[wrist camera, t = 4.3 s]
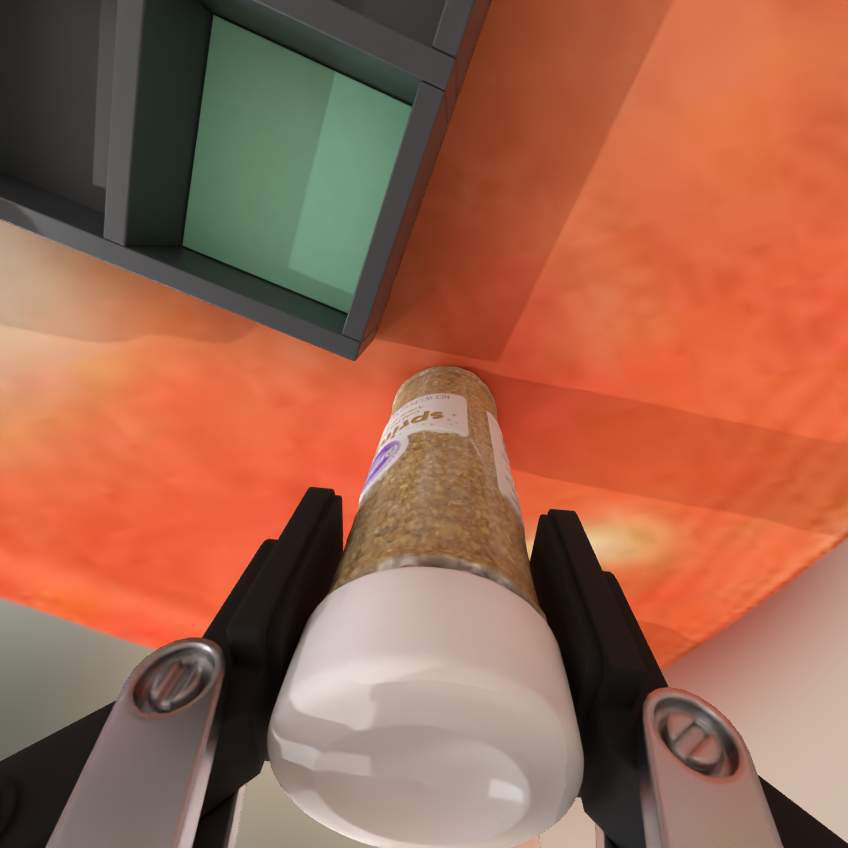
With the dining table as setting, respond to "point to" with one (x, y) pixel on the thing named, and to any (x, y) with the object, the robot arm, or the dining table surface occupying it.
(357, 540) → the sprinkles bottle
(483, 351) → the dining table surface
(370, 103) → the rack
